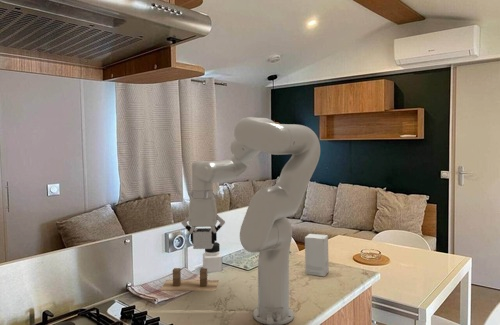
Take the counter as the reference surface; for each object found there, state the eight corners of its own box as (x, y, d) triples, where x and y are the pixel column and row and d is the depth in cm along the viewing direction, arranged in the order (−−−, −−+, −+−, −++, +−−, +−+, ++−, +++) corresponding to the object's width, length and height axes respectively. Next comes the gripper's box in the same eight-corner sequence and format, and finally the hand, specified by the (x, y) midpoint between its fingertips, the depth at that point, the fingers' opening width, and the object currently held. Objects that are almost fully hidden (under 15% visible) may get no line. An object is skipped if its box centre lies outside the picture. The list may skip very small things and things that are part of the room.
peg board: (215, 293, 136) (215, 274, 136) (160, 293, 137) (159, 274, 136) (218, 282, 146) (218, 264, 146) (166, 282, 147) (166, 264, 146)
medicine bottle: (222, 273, 157) (222, 244, 156) (205, 274, 155) (204, 245, 154) (219, 267, 163) (219, 240, 163) (202, 269, 162) (202, 241, 161)
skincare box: (329, 272, 157) (329, 235, 156) (324, 277, 151) (324, 238, 150) (309, 269, 161) (309, 232, 160) (304, 274, 155) (304, 236, 154)
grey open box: (211, 248, 137) (211, 232, 136) (193, 248, 137) (192, 232, 136) (213, 243, 143) (213, 228, 143) (196, 244, 143) (196, 228, 143)
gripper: (176, 196, 135) (178, 246, 136) (225, 195, 135) (226, 245, 136) (181, 193, 143) (182, 240, 144) (227, 193, 142) (228, 240, 143)
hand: (203, 242), depth 140 cm, fingers closed on grey open box, 6 cm apart
